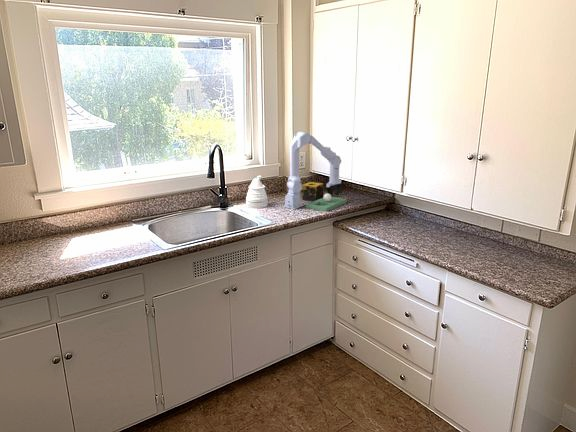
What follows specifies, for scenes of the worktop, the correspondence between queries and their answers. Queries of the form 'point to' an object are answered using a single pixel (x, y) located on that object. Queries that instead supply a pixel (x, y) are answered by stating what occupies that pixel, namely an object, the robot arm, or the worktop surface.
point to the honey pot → (256, 194)
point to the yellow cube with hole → (312, 191)
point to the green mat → (326, 204)
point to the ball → (327, 197)
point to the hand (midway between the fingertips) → (333, 196)
